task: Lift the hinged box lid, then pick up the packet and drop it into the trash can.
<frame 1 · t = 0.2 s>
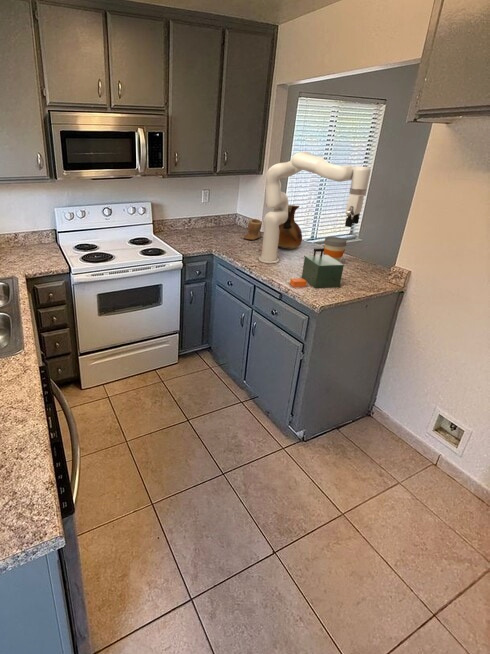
hand: (351, 224, 187), 31 cm above the counter, tool pointing down, fingers open, 9 cm apart
trash can: (319, 281, 195), on the counter
ceramic pitcher: (286, 247, 254), on the counter
packet: (297, 285, 191), on the counter
reusable coffee cup: (331, 262, 224), on the counter
stone cup: (253, 238, 275), on the counter
hinged box lid: (323, 256, 190), point 15 cm above the counter, hinge at 0.0°
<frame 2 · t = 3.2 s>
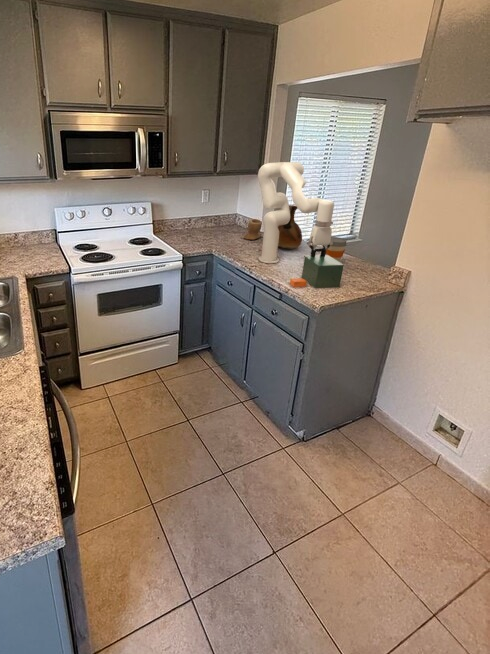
hand: (317, 256, 196), 13 cm above the counter, tool pointing down, fingers closed on hinged box lid, 5 cm apart
hinged box lid: (323, 256, 190), point 15 cm above the counter, hinge at -0.1°, touching gripper
everything else where it was.
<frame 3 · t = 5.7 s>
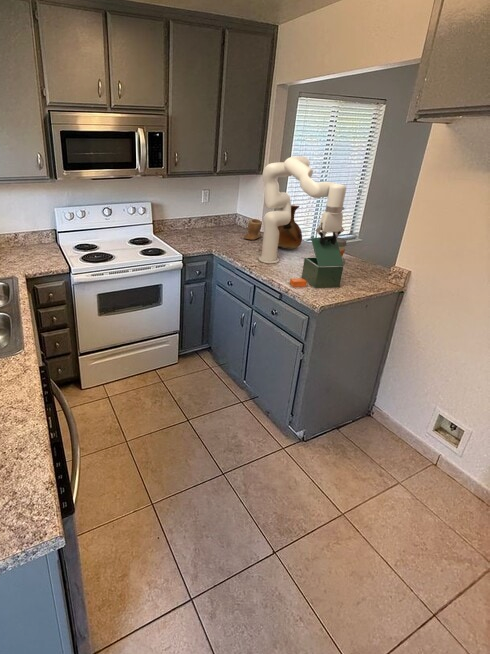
hand: (327, 243, 186), 22 cm above the counter, tool pointing down, fingers closed on hinged box lid, 5 cm apart
hinged box lid: (329, 249, 184), point 20 cm above the counter, hinge at 45.1°, touching gripper
everything else where it was.
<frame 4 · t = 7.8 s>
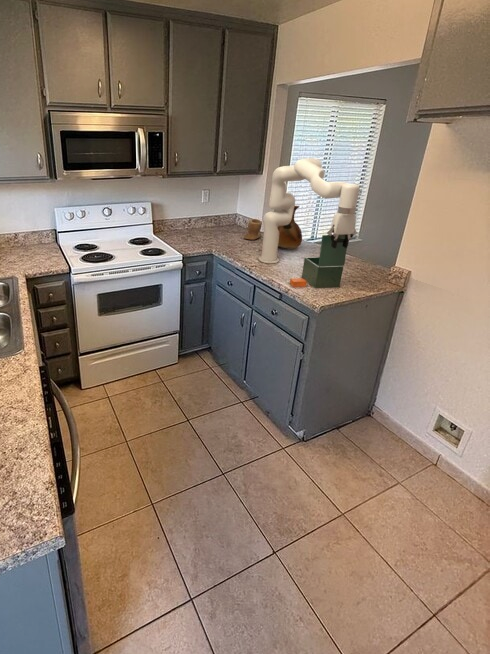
hand: (339, 247, 176), 24 cm above the counter, tool pointing down, fingers closed on hinged box lid, 5 cm apart
hinged box lid: (335, 251, 179), point 21 cm above the counter, hinge at 85.8°, touching gripper
everything else where it was.
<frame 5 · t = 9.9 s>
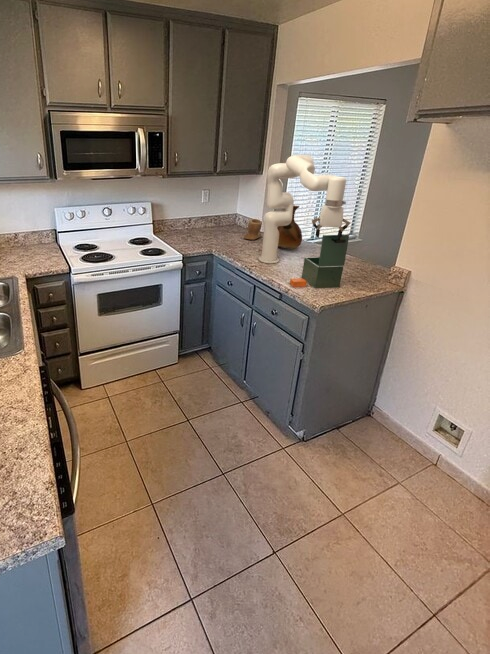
hand: (328, 237, 177), 27 cm above the counter, tool pointing down, fingers open, 9 cm apart
hinged box lid: (336, 251, 179), point 21 cm above the counter, hinge at 87.2°, touching gripper
everything else where it was.
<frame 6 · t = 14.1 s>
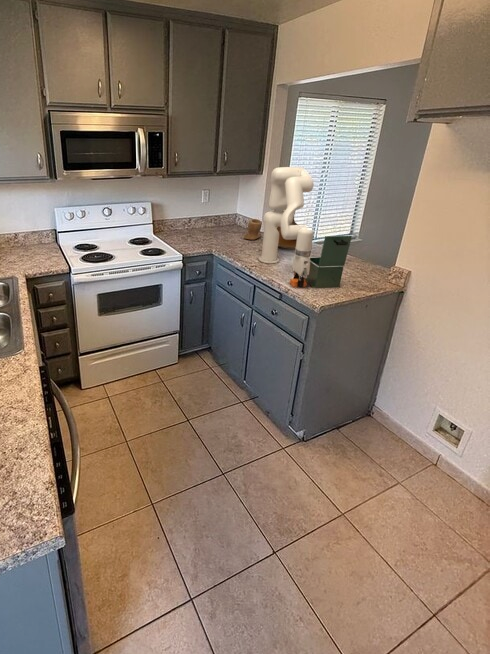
hand: (297, 284, 191), 0 cm above the counter, tool pointing down, fingers closed on packet, 4 cm apart
packet: (297, 285, 191), on the counter, touching gripper
hinged box lid: (337, 253, 178), point 20 cm above the counter, hinge at 95.2°
everything else where it was.
when the fingers open (12 cm above the counter, at t = 19.6 s): packet drops 11 cm, resting on trash can.
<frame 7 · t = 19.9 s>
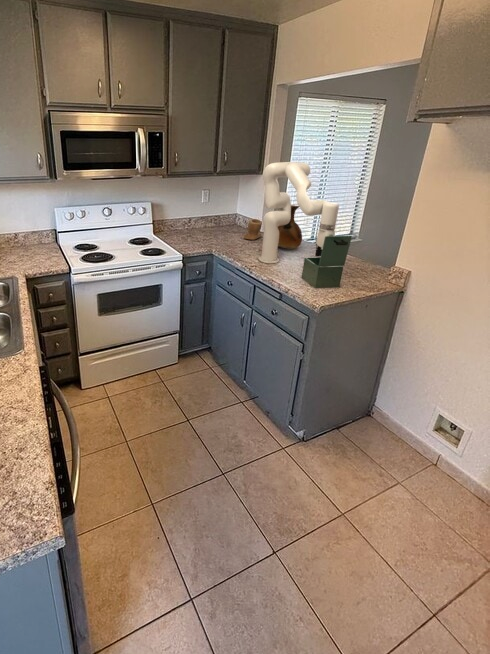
hand: (321, 258, 192), 13 cm above the counter, tool pointing down, fingers open, 7 cm apart
packet: (318, 279, 197), point 1 cm above the counter, touching trash can
everything else where it was.
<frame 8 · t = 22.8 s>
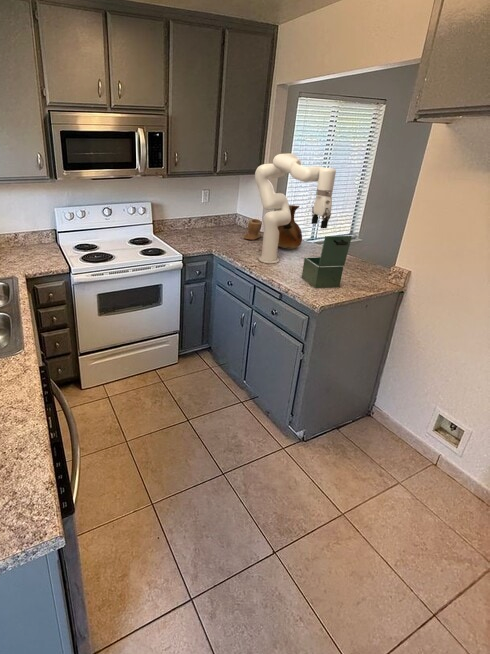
hand: (318, 225, 188), 30 cm above the counter, tool pointing down, fingers open, 9 cm apart
nothing on the counter moved.
at the end: hinged box lid at +95° (first picture: +0°); packet inside the target area in the trash can (2.0 cm from its centre), point 0.8 cm above the trash can's base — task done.
